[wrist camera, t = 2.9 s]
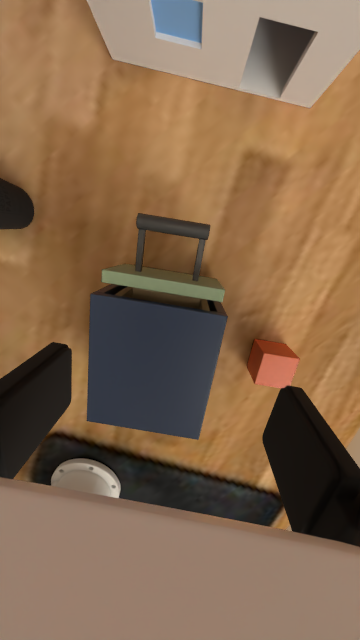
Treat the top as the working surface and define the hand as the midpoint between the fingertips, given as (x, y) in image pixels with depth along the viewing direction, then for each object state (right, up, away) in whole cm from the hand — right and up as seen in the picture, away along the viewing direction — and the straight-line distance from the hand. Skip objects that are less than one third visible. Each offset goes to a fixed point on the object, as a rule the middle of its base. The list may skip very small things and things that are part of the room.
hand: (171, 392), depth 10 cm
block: (+12, -2, +22) cm, 25 cm away
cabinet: (-2, +1, +22) cm, 22 cm away
